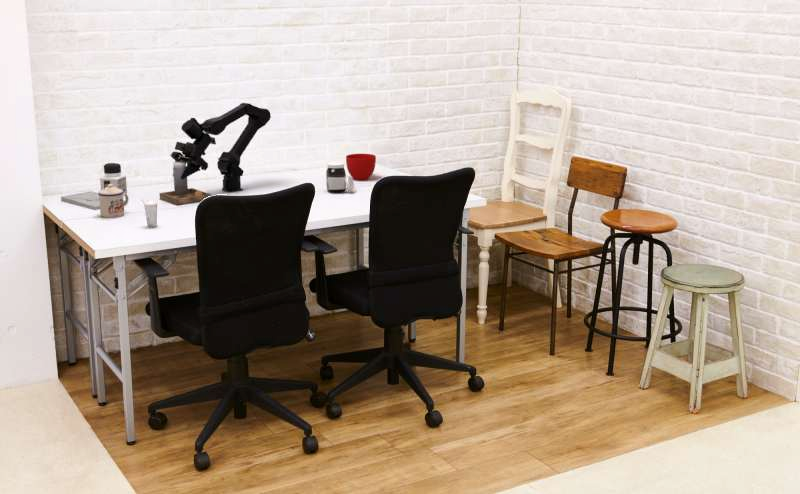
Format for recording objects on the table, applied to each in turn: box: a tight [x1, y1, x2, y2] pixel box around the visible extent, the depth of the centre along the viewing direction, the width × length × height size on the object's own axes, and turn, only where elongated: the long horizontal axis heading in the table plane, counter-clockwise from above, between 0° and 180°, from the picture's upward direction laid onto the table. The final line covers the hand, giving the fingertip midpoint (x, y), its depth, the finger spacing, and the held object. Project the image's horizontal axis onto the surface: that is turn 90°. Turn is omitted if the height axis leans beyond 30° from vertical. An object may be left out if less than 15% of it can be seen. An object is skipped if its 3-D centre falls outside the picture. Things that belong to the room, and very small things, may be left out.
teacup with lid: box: [97, 184, 129, 219], centre depth 386 cm, size 12×9×12 cm
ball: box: [195, 190, 203, 196], centre depth 410 cm, size 3×3×3 cm
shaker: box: [172, 161, 189, 195], centre depth 409 cm, size 5×5×12 cm
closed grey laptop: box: [60, 190, 125, 211], centre depth 407 cm, size 24×2×14 cm
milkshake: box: [141, 199, 158, 228], centre depth 369 cm, size 5×5×10 cm
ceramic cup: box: [345, 153, 377, 181], centre depth 452 cm, size 13×17×10 cm
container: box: [99, 162, 128, 195], centre depth 418 cm, size 8×8×13 cm
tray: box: [158, 188, 211, 206], centre depth 411 cm, size 15×15×2 cm
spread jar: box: [325, 161, 356, 194], centre depth 425 cm, size 12×11×12 cm
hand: (177, 177), depth 408 cm, fingers closed on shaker, 5 cm apart
